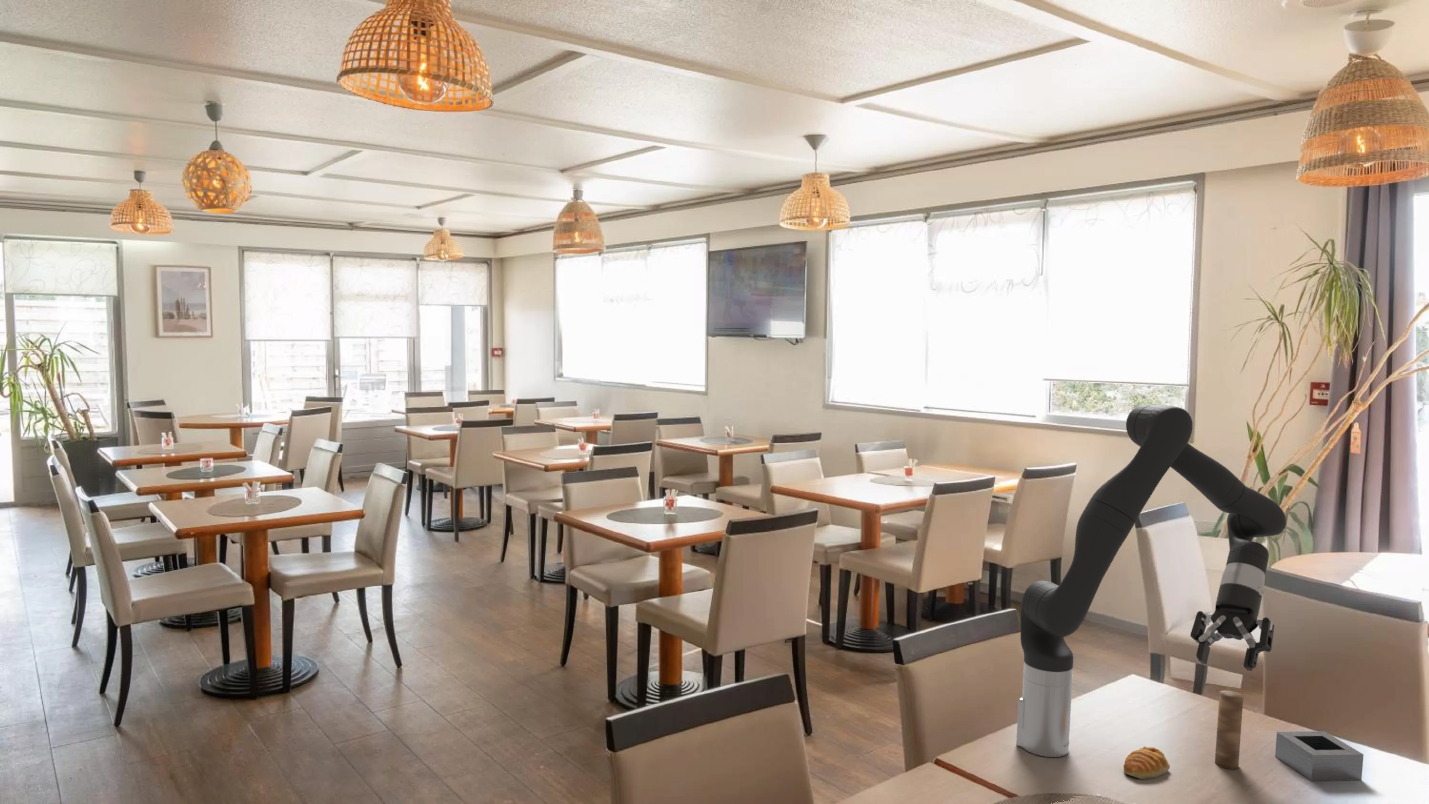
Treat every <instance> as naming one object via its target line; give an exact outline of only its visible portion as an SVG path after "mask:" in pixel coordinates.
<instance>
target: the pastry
mask: <svg viewBox="0 0 1429 804" xmlns="http://www.w3.org/2000/svg"><path fill="white" fill-rule="evenodd" d="M1170 768H1171V765H1170V764H1169V762H1168V759H1167V757H1166V756H1165V754H1164V752H1163V751H1161V750H1160V749H1158V748H1155V747H1154V746H1150V747H1148V746H1143V747H1141V748H1139V749H1136V750H1133V751H1131V752H1130V753H1129V754H1128V755H1127V757H1126V758H1125V760H1124V764H1123V772H1124V774H1125V775H1128V776H1131V777H1134V778H1137V779H1139V780H1146V779H1156V778H1157V777H1160V776H1162V775H1163V776H1164V774H1166V773H1167V772H1168V771H1169V770H1170Z"/></svg>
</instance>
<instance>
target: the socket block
mask: <svg viewBox="0 0 1429 804" xmlns="http://www.w3.org/2000/svg"><path fill="white" fill-rule="evenodd" d="M1275 737H1276V740H1275V741H1276V742H1275V752H1274V753H1275V754H1274V757H1276V758H1277V759H1279V760H1280V761H1281V762H1283V763H1284V764H1286V765H1287V766H1289V767H1290V768H1292V769H1293V770H1294V771H1296V772H1297V773H1299V774H1301V775H1302V776H1304V777H1305V778H1306V777H1307V778H1306V779H1308V780H1309V781H1311V782H1315V781H1317V782H1318V781H1322V782H1323V781H1324V782H1326V781H1329V782H1330V781H1331V782H1333V781H1362V778H1363V777H1362V776H1363V767H1364V766H1363V765H1364V753H1362V752H1361V751H1358V750H1357V749H1355V748H1353V747H1352V746H1350V745H1349V744H1347V743H1345V742H1343V741H1342V740H1341V739H1338V738H1336V737H1335V736H1334V735H1332V734H1330V733H1329V732H1327V731H1324V730H1323V731H1322V730H1321V731H1319V730H1318V731H1317V730H1316V731H1311V730H1310V731H1277V732H1276V736H1275Z"/></svg>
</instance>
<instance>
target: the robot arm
mask: <svg viewBox="0 0 1429 804" xmlns="http://www.w3.org/2000/svg"><path fill="white" fill-rule="evenodd" d="M1125 427H1126V428H1125V429H1126V433H1127V435H1128V437H1129V438H1130V440H1131V441H1132V442H1133V443H1134V444H1135V445H1137V446H1138V447H1139V448H1138V450H1137V452H1136V453H1135V455H1134V457H1133V458H1132V459H1131V461H1130V462H1129V463H1128V464H1127V465H1126V466H1125V467H1123V468H1122V469H1121V470H1120V471H1119V472H1117V473H1116V474H1114V475H1113V476H1112V477H1111V478H1109V479H1108V480H1107V481H1106V482H1104V483H1103V484H1102V485H1101V486H1100V487H1098V489H1097V490H1096V491H1095V492H1094V493H1093V494H1092V496H1091V498H1090V499H1089V501H1088V503H1087V505H1086V506H1085V508H1084V509H1083V511H1082V513H1081V515H1080V516H1079V519H1078V521H1077V526H1076V529H1075V530H1076V532H1075V537H1074V538H1075V539H1074V542H1075V543H1074V553H1073V557H1072V562H1071V564H1070V566H1069V568H1068V571H1067V572H1066V574H1065V575H1064V577H1063V579H1062V580H1061V582H1060V584H1059V585H1058V584H1056V583H1054V582H1051V581H1048V580H1038V581H1034V582H1032V583H1031V584H1030V585H1028V587H1026V589H1025V591H1024V593H1023V595H1022V599H1021V602H1020V603H1021V604H1020V620H1019V621H1020V644H1021V648H1022V652H1023V671H1022V696H1021V697H1020V698H1019V699H1018V701H1017V703H1018V704H1017V705H1018V707H1017V719H1016V720H1017V723H1016V724H1017V725H1016V741H1015V742H1016V744H1015V745H1016V746H1018V747H1019V748H1020V747H1021V748H1022V749H1023V750H1025V751H1027V752H1029V753H1031V754H1033V755H1036V756H1040V757H1047V758H1059V757H1063V756H1066V755H1067V754H1068V753H1069V746H1070V731H1071V729H1070V728H1071V711H1072V695H1073V694H1072V691H1073V674H1074V673H1073V672H1074V654H1073V652H1072V650H1071V649H1070V647H1069V646H1068V644H1067V642H1066V640H1065V638H1066V637H1068V636H1070V635H1072V634H1074V633H1075V632H1076V631H1077V630H1078V629H1079V628H1080V626H1081V625H1082V623H1083V622H1084V619H1086V616H1087V614H1088V611H1089V610H1090V607H1091V605H1092V603H1093V601H1094V599H1095V596H1096V593H1097V591H1098V590H1099V587H1100V585H1101V583H1102V581H1103V579H1104V577H1105V575H1106V573H1107V571H1108V570H1109V568H1110V566H1111V564H1112V563H1113V561H1114V559H1115V557H1116V555H1117V554H1118V552H1119V550H1120V548H1121V547H1122V545H1123V544H1124V542H1125V540H1126V539H1127V537H1128V536H1129V534H1130V532H1131V530H1132V529H1133V527H1134V526H1135V524H1136V522H1137V521H1138V518H1139V516H1140V514H1141V513H1142V511H1143V509H1144V507H1145V506H1146V505H1147V503H1148V502H1149V499H1151V497H1152V495H1153V493H1154V491H1155V490H1156V488H1157V487H1158V485H1159V484H1160V482H1161V480H1162V479H1163V478H1164V476H1165V475H1166V473H1168V471H1169V469H1170V468H1171V469H1172V470H1174V471H1175V472H1176V473H1177V474H1179V475H1180V476H1181V477H1183V478H1184V479H1185V480H1186V481H1187V482H1189V483H1190V484H1191V485H1192V486H1193V487H1194V488H1195V489H1197V491H1199V493H1201V494H1202V495H1203V496H1204V497H1205V498H1206V499H1207V500H1208V501H1209V502H1210V503H1212V505H1214V506H1215V507H1216V508H1217V509H1218V510H1219V511H1221V512H1223V513H1226V514H1228V515H1227V517H1226V518H1227V519H1226V525H1227V533H1228V546H1229V551H1228V554H1227V555H1228V556H1227V559H1226V563H1225V568H1224V571H1223V572H1222V576H1221V579H1220V584H1219V588H1218V592H1217V597H1216V601H1215V610H1214V612H1213V613H1212V614H1208V613H1204V612H1203V611H1202V610H1200V611H1199V610H1198V611H1197V612H1196V615H1195V618H1194V622H1193V625H1192V628H1191V631H1190V638H1191V639H1193V641H1195V643H1196V644H1198V647H1197V650H1196V659H1197V660H1198V661H1199V662H1200V663H1201V664H1202V665H1207V664H1208V659H1209V655H1210V651H1211V646H1212V645H1213V644H1214V643H1215V642H1219V641H1220V640H1221V639H1223V638H1224V639H1234V640H1238V641H1242V639H1244V640H1245V642H1246V644H1247V645H1248V647H1247V648H1246V651H1245V656H1244V661H1243V668H1245V670H1246V671H1249V672H1252V671H1253V669H1255V668H1256V667H1257V664H1258V658H1259V654H1260V653H1262V652H1268V653H1269V652H1271V651H1272V648H1273V647H1272V646H1273V641H1274V640H1273V639H1274V632H1275V631H1274V630H1275V624H1274V623H1273V622H1272V620H1270V618H1268V617H1263V618H1262V619H1258V617H1259V614H1260V609H1261V605H1262V599H1263V595H1264V593H1265V592H1264V591H1265V590H1264V589H1265V583H1266V582H1265V577H1266V573H1267V567H1268V564H1269V563H1268V562H1269V557H1270V555H1269V554H1270V553H1269V550H1268V548H1267V547H1266V546H1264V545H1263V544H1261V543H1259V542H1257V541H1253V539H1254V538H1262V537H1263V538H1264V537H1265V538H1266V537H1273V536H1278V535H1280V534H1281V533H1283V531H1284V530H1285V529H1286V526H1287V517H1286V515H1285V512H1284V511H1283V509H1282V508H1281V507H1280V505H1279V504H1278V503H1277V502H1275V501H1274V500H1273V499H1271V498H1269V497H1268V496H1266V495H1264V494H1263V493H1260V492H1258V491H1257V490H1255V489H1252V488H1250V487H1248V486H1247V485H1245V484H1244V483H1243V481H1242V480H1240V479H1239V478H1238V477H1237V476H1236V475H1235V474H1234V473H1233V472H1231V470H1229V469H1228V468H1227V466H1226V467H1225V466H1224V465H1223V464H1222V463H1220V462H1219V461H1217V460H1215V458H1214V459H1213V458H1212V457H1211V456H1209V455H1207V454H1205V453H1204V452H1202V451H1200V450H1199V449H1198V448H1196V447H1194V446H1193V445H1191V443H1189V441H1190V439H1191V436H1192V433H1193V428H1194V427H1193V420H1192V416H1191V414H1190V413H1189V412H1188V411H1187V410H1186V409H1184V408H1182V407H1179V406H1174V405H1167V404H1156V403H1146V404H1141V405H1138V406H1135V407H1134V408H1133V409H1132V410H1131V411H1130V412H1129V413H1128V416H1127V418H1126V422H1125ZM1211 622H1212V624H1211V625H1210V623H1211ZM1209 625H1210V626H1209ZM1207 626H1209V627H1208V628H1207ZM1257 628H1259V629H1260V636H1259V641H1258V642H1257V641H1256V639H1255V638H1254V637H1255V636H1253V634H1252V632H1254V630H1256V629H1257ZM1215 632H1216V633H1215Z"/></svg>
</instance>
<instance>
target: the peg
mask: <svg viewBox="0 0 1429 804" xmlns="http://www.w3.org/2000/svg"><path fill="white" fill-rule="evenodd" d="M1218 693H1219V697H1218V709H1217V710H1218V711H1217V724H1216V740H1215V742H1216V743H1215V757H1214V764H1215V765H1217V767H1220V768H1223V769H1227V770H1237V769H1239V767H1240V766H1239V764H1240V749H1241V735H1242V721H1243V705H1244V695H1242V694H1241V693H1240V692H1237V691H1233V690H1220V691H1219V692H1218Z"/></svg>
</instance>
